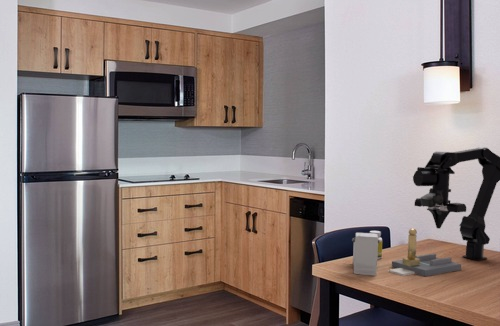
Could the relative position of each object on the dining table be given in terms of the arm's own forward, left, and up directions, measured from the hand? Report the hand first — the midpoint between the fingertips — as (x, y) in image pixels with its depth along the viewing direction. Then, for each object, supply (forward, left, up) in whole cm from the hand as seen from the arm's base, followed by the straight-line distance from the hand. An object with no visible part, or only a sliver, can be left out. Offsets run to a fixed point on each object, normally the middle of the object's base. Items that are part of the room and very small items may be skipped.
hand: (438, 228), depth 200 cm
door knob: (+21, +6, -10) cm, 24 cm away
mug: (+29, -8, -12) cm, 32 cm away
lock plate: (+13, +6, -12) cm, 19 cm away
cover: (+26, +6, -13) cm, 30 cm away
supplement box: (+37, 0, -12) cm, 39 cm away
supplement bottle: (+18, -14, -12) cm, 26 cm away
